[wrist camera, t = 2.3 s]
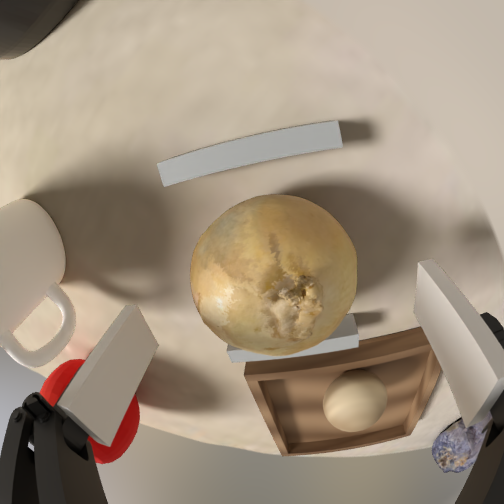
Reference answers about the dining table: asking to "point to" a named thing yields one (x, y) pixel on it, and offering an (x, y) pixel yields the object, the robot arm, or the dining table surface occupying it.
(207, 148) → the cradle
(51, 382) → the tomato
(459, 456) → the rock
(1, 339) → the cup
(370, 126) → the dining table surface
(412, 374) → the tray
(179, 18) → the dining table surface
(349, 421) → the ball
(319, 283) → the onion
